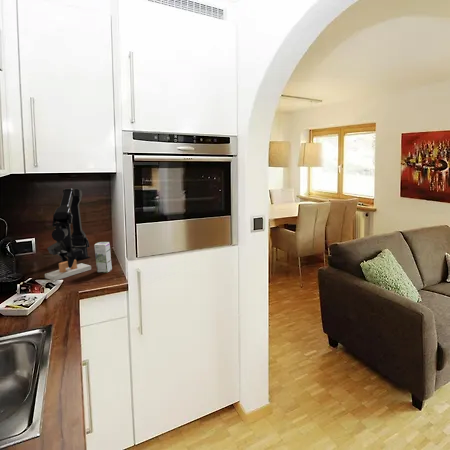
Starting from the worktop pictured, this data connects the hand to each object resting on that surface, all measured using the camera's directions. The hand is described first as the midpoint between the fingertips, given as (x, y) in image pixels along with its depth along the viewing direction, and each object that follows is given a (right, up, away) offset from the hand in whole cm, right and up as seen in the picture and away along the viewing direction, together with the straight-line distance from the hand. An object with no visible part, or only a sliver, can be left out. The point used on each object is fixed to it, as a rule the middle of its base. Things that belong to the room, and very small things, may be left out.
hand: (68, 267), depth 183 cm
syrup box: (+17, -3, +4) cm, 17 cm away
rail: (0, -3, +1) cm, 3 cm away
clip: (0, -3, +1) cm, 3 cm away
